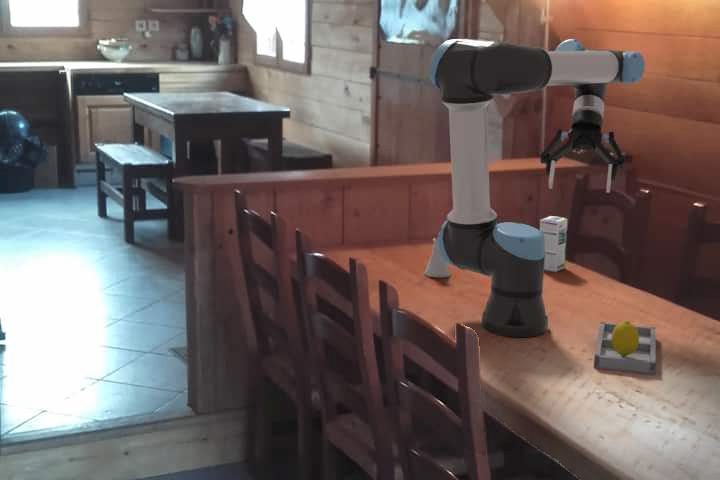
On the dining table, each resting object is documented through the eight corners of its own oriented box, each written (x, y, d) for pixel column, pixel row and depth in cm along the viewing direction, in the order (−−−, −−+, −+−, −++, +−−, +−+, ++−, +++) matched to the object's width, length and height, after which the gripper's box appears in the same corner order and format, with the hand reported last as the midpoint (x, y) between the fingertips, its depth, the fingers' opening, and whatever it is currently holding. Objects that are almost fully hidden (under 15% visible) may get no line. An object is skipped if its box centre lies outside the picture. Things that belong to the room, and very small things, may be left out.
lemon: (638, 362, 201) (641, 326, 199) (610, 360, 202) (613, 323, 200) (636, 353, 206) (639, 317, 205) (609, 351, 207) (612, 315, 206)
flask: (451, 278, 263) (453, 242, 260) (424, 278, 263) (425, 242, 260) (449, 271, 270) (451, 236, 267) (423, 271, 270) (424, 235, 267)
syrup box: (556, 272, 270) (559, 221, 267) (537, 268, 274) (540, 218, 270) (565, 268, 275) (568, 218, 271) (546, 264, 278) (549, 215, 275)
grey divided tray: (654, 374, 197) (655, 363, 197) (593, 367, 200) (594, 356, 200) (654, 338, 219) (655, 327, 218) (599, 332, 222) (600, 321, 221)
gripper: (638, 129, 244) (632, 199, 233) (537, 124, 251) (527, 192, 240) (639, 110, 238) (633, 181, 227) (536, 106, 244) (525, 175, 234)
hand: (578, 187), depth 234 cm, fingers open, 13 cm apart
